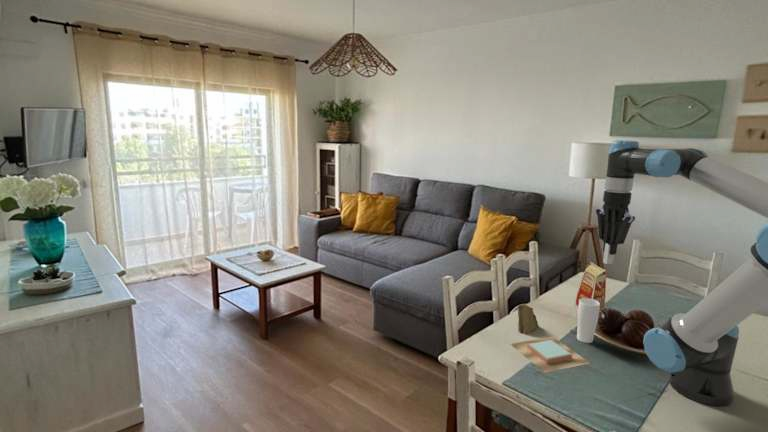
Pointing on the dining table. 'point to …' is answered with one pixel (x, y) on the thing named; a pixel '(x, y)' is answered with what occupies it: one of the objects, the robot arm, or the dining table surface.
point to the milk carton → (592, 285)
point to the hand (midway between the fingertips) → (607, 262)
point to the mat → (549, 367)
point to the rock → (526, 319)
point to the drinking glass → (587, 319)
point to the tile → (549, 351)
